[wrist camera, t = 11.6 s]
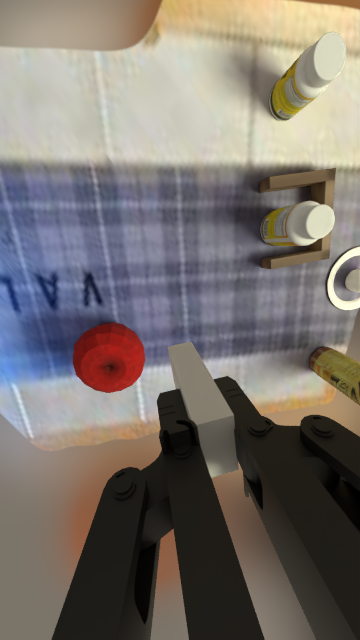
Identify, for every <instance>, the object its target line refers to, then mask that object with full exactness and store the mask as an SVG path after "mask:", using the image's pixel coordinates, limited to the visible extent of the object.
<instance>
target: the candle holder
mask: <svg viewBox="0 0 360 640" xmlns="http://www.w3.org/2000/svg"><path fill="white" fill-rule="evenodd" d="M358 255H360V247H357V248H354V249H352V250H350V251H348V252H346V253H345V254H344V255H343V256H342V257H341V258H340V259H339V260H338V261H337V262H336V264H335V265H334V267H333V268H332V270H331V272H330V275H329V279H328V285H327V286H328V295H329V298H330V300H331V302H332V303H333V304H334V305H335V306H336V307H338V308H340V309H343V310H352V309H356V308H358V307H360V297H359V298H358V299H356V300H353V301H342V300H340V299H339V298H338V297H337V296H336V295H335V292H334V289H333V282H334V277H335V275H336V272H337V270H338V269H339V267H340V266H341V265H342V264H343V263H344V262H345V261H346V260H347V259H349V258H351V257H353V256H358ZM345 286H346V288H347V289H348V290H350V291H354V292H359V293H360V269H355V270H353V271H351V272H350V273H349V274H348V276H347V277H346V281H345Z"/></svg>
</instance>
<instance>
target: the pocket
mask: <svg viewBox="0 0 360 640" xmlns="http://www.w3.org/2000/svg"><path fill="white" fill-rule="evenodd" d="M335 171H336V168H333V169H325V170H318V171H310V172H302V173H295V174H287V175H279V176H272V177H268V178H266V179H264V180H262V181H260V182H259V193H263V192H271V191H278V190H285V189H292V188H299V187H306V186H311V201H314V202H317V203H319V204H320V205H322V204H323V205H327V206H329V207H330V208H331V209H332V210H333V199H334V185H335ZM330 241H331V231H330V232H329V233H328V234H327V235H326V236H325V237H323V238H320V239H318V240H316V241H315V242H314V243H312V244H309V250H306V251H301V252H295V253H290V254H284V255H279V256H273V257H267V258H262V259H261V268H267V269H275V268H281V267H286V266H291V265H297V264H302V263H307V262H313V261H318V260H323V259H329V255H330Z"/></svg>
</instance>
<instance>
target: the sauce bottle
mask: <svg viewBox="0 0 360 640" xmlns="http://www.w3.org/2000/svg"><path fill="white" fill-rule="evenodd" d="M310 367H311V369H312V370H313V371H314V372H315V373H316V374H317V375H318V376H320V377H321V378H323V379H324V380H325V381H327V382H328V383H329V384H331V385H332V386H334V387H335V388H336V389H338V390H339V391H341V392H342V393H343V394H345V395H346V396H348V397H349V398H350V399H352V400H353V401H355V402H356V403H357V404H359V405H360V363H359V362H358V361H356V360H354V359H352V358H350V357H348V356H346V355H344V354H343V353H341V352H339V351H337V350H334V349H332V348H329V347H322V348H319V349H318V350H316V351H315V352H314V353H313V354H312V356H311V358H310Z"/></svg>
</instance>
